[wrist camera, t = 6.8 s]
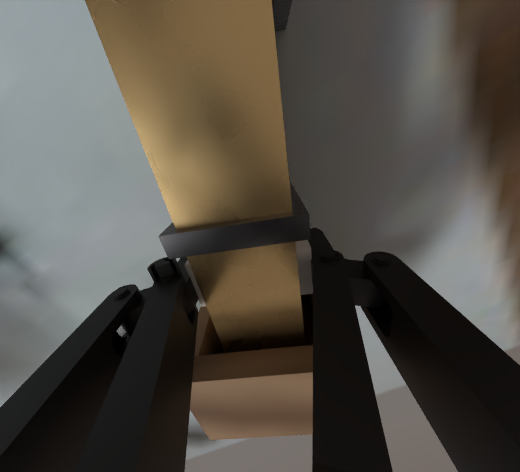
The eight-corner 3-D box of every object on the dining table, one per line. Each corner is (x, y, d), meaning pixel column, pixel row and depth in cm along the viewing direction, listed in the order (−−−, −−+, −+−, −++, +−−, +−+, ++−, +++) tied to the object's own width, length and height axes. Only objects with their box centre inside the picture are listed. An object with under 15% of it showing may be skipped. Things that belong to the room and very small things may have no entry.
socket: (217, 259, 18) (173, 384, 9) (307, 247, 17) (356, 368, 8) (232, 307, 20) (210, 440, 12) (311, 298, 20) (350, 431, 11)
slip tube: (135, -51, 9) (-173, -501, 2) (259, -86, 8) (253, -745, 2) (236, 295, 17) (223, 381, 11) (298, 288, 17) (318, 373, 11)
